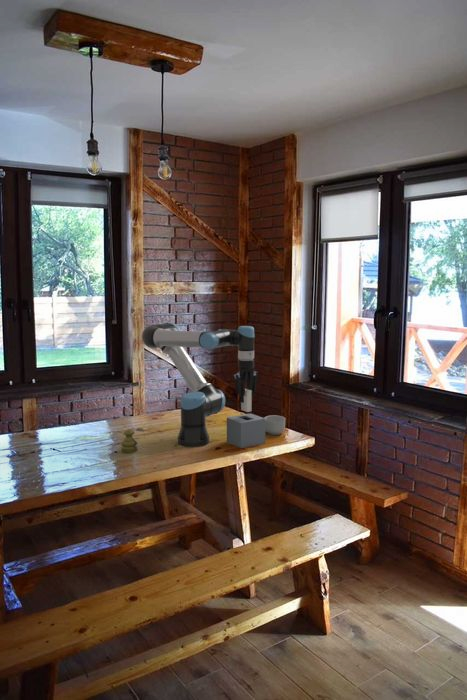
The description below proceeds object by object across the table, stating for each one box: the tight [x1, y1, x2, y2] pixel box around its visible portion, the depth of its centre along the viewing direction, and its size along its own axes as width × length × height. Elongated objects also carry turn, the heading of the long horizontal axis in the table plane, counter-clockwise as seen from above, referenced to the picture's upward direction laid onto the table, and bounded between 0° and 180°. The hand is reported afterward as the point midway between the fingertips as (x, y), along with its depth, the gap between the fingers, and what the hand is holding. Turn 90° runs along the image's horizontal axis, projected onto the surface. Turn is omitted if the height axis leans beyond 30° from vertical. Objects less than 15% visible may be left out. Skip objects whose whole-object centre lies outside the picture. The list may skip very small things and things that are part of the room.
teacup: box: [264, 414, 286, 436], centre depth 292 cm, size 14×11×8 cm
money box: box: [226, 412, 266, 449], centre depth 276 cm, size 14×12×12 cm
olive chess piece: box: [120, 428, 138, 454], centre depth 263 cm, size 7×7×10 cm
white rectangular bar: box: [240, 388, 253, 413], centre depth 274 cm, size 2×5×10 cm, turn 34°
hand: (246, 408), depth 274 cm, fingers closed on white rectangular bar, 2 cm apart
